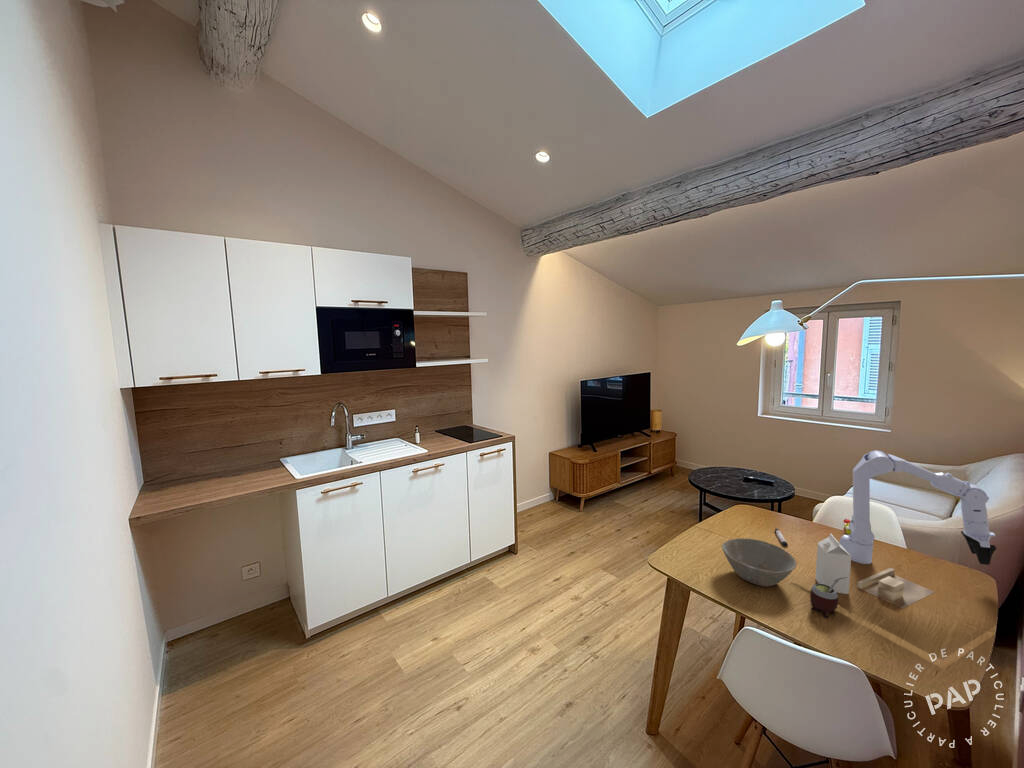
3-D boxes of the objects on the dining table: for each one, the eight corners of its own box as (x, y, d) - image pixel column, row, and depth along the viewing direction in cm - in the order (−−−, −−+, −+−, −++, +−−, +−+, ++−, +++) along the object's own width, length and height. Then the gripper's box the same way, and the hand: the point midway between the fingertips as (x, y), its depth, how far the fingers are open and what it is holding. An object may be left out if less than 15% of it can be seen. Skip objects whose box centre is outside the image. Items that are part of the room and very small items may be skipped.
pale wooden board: (856, 591, 137) (857, 581, 137) (889, 576, 145) (890, 567, 144) (901, 613, 126) (902, 602, 126) (934, 596, 134) (935, 586, 133)
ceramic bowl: (722, 556, 161) (723, 533, 160) (791, 571, 149) (792, 546, 148) (719, 586, 142) (720, 560, 141) (798, 606, 130) (800, 578, 129)
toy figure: (837, 528, 181) (838, 514, 180) (852, 530, 179) (853, 516, 178) (848, 546, 165) (849, 531, 165) (865, 549, 163) (867, 534, 162)
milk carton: (839, 585, 140) (842, 534, 138) (848, 598, 134) (852, 544, 132) (815, 582, 143) (818, 532, 141) (823, 594, 136) (826, 541, 134)
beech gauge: (877, 594, 133) (878, 580, 132) (887, 589, 135) (888, 576, 135) (892, 601, 129) (893, 587, 129) (902, 596, 131) (904, 582, 131)
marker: (787, 547, 167) (788, 543, 167) (782, 546, 167) (782, 542, 167) (778, 530, 181) (778, 526, 181) (773, 530, 182) (773, 526, 181)
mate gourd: (806, 602, 132) (809, 559, 131) (836, 607, 129) (838, 564, 128) (813, 616, 125) (816, 572, 124) (844, 623, 122) (848, 577, 121)
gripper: (1001, 529, 128) (1007, 571, 128) (984, 512, 139) (989, 550, 140) (969, 527, 132) (974, 567, 132) (955, 511, 143) (960, 548, 144)
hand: (980, 558), depth 136 cm, fingers open, 7 cm apart
